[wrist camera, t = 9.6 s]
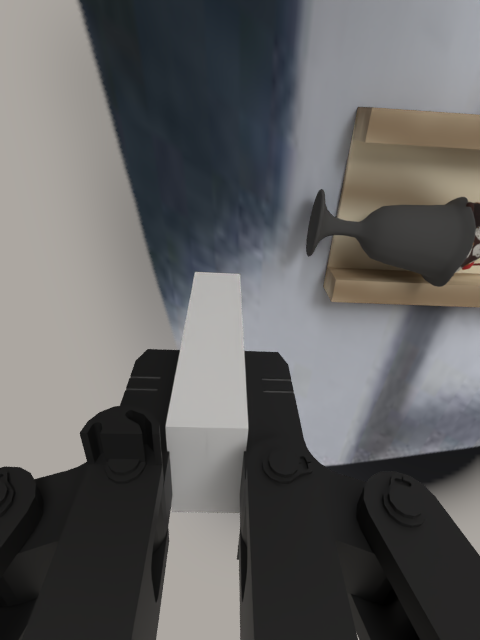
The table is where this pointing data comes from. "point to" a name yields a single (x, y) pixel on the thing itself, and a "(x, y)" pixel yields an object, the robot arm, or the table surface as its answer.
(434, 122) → the rest
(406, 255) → the sundae
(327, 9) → the table surface
